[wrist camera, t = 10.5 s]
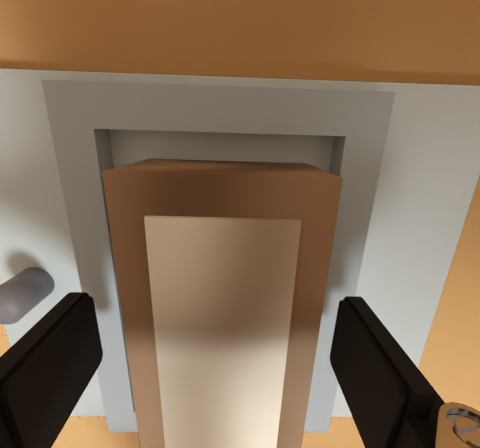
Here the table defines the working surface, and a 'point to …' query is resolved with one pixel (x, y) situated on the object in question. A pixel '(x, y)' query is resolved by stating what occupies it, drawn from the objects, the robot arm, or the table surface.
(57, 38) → the table surface
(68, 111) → the white cabinet door
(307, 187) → the frame
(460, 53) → the table surface
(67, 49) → the table surface
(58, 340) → the robot arm
